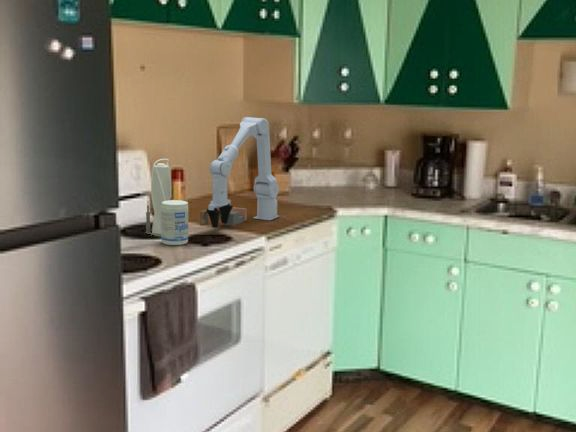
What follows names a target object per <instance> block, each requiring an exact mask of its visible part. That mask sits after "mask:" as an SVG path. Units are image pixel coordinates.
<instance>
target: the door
mask: <svg viewBox="0 0 576 432" xmlns="http://www.w3.org/2000/svg"><path fill="white" fill-rule="evenodd" d="M247 210H248V209H247V208H245V207H243V208H242V207H234V206H233V208H232V210H231V211H234V212H239V216H244V222H246V221H247V214H248V211H247Z"/></svg>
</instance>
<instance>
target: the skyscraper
mask: <svg viewBox="0 0 576 432" xmlns="http://www.w3.org/2000/svg"><path fill="white" fill-rule="evenodd" d="M160 161H167V162H166V163H164V162H163V163H162V162H161V163H160ZM169 163H170V159H169V158H160V159H157V160H156V161H155V162H153V164H152V170H151V179H150V195H151V202H152V208H153V213H154V214H153V220H152V224H151V221H150V220H151V212H150V205H149V204H147V205H146V212H145V218H146V220H145V229H146V231H145V233H147V234H151V235H150V236H152V235H154V236H153V237H158V238H161V206H162V202H163V201H168V200H170V198H171V195H172V178H171V177H172V175H171V168H170V165H169ZM146 201H147V203H149V200H146ZM151 225H152V226H151ZM151 227H152V228H151ZM150 231H152V233H151V232H150Z"/></svg>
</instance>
